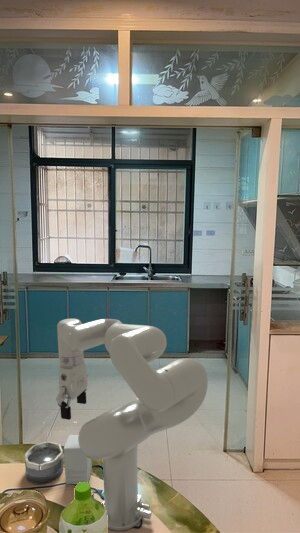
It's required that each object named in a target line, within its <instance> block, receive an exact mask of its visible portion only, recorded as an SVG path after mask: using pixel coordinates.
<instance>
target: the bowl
mask: <svg viewBox="0 0 300 533" xmlns="http://www.w3.org/2000/svg"><path fill="white" fill-rule="evenodd" d="M24 465H25V477H26V478H25V479H26V480H27V481H28V482H29V483H30V484H31V485H32V484H33V485H38V486H39V485H40V486H43V485H48V484H51V483H53V482H54V481H56V480H58V479H59V478H60V477H61V476H62V474H63V472H64V449H63V448H62V445H61V444H60V443H57V442H54V441H43V442H39V443H36V444H34V445H31V447H30V448H29V449H28V450H27V451H26V452H25V453H24Z"/></svg>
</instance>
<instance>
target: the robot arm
mask: <svg viewBox="0 0 300 533" xmlns="http://www.w3.org/2000/svg"><path fill="white" fill-rule="evenodd" d="M56 330H57V345H58V364H59V373H58V394H57V396H56V397H55V398H56V399H55V401H56V403H57V405H58V407H59V408H60V419H62V420H63V419H64V420H69V421H70V420H71V419H72V410H71V406H70V405H71V402H72V400H75V399H76V403H77V404H82V405H86V404H87V389H88V372H87V368H86V362H85V358H84V356H85V355H84V351H86V350H89V349H92V348H95V347H98V346H101V345H104V346H105V347H104V348H105V350H106V351H107V352H108V353H109V358H110V361H111V362H112V364H113V366H114V368H115V369H116V371H117V373H119V375H120V376H121V377H122V379H123V380H124V381H125V382H126V384H127V385H128V387H129V388H130V390H131V391H132V392H133V393H134V394H135V395H136V398H137V399H136V400H134V401H131V402H128V403H126V404H123V405H118V406H115V407H113V408H111V409H109V410H107V411H106V412H104V413H101V414H100V415H98V416H96V417H94V418H93V419H90V420H89V421H87V422H85V423H84V424H83V425H82V426H81V428H80V429H79V432H78V435H79V436H78V442H79V446H80V449H81V451H82V452H83V454H84V455H85V456H87V457H88V458H90V459H91V461H92V460H93V461H101V460H102V462H103V464H102V466H103V467H102V468H103V472H102V473H103V497H104V500H103V501H102V502H101V504H102V503H103V504H104V506H105V508H106V510H107V515H108V528H107V529H110V530H111V531H112V530H113V531H117V532H118V531H126V530H130V529H132V528H134V527H135V526H137V525H138V524H139V523H140V521H141V520H142V518H144V519H147V520H151V518H152V511H151V510H150V509H151V504H149V503H144V502H143V501H142V495H141V494H138V489H139V488H138V487H139V486H138V483H139V482H138V448H139V447H138V445H139V444H142V443H143V442H144V441H145V440H147V439H149V437H151V436H152V435H154V434H157V433H160V432H163V431H165V430H169V429H171V428H174V427H176V426H178V425H180V424H182V423H184V422H186V421H187V420H188V419H190V418H191V417H192V416H193V415H194V414H195V413H196V412H197V411H198V410H199V408H200V407H201V406H202V404H203V402H204V401H205V399H206V396H207V392H208V387H209V386H208V385H209V384H208V381H209V380H208V375H207V374H208V373H207V370H206V368H205V367H204V365H203V364H202V363H201V362H200V361H199V360H197V359H194V358H188V357H187V358H179V359H176V360H173V361H171V362H168V363H166V364H164V365H161V366H160V367H158V368H156V369H154V368H153V367H152V366H151V365H150V364H149V363H150V362H153V361H154V360H155V361H156V360H157V359H158V358H160V357H161V356H162V355H163V353H165V350H166V348H167V343H168V342H167V337H166V334H165V333H164V332H163V331H162V330H161V329H160V328H158V327H156V326H152V325H145V324H144V325H143V324H129V323H123V322H122V321H121V320H119V319H115V318H114V319H113V318H100V319H96V320H92V321H87V322H84V323H82V321H81V320H80V319H78V318H65V319H62V320H60V321H58V323H57V325H56ZM65 400H67V401H66V402H65Z"/></svg>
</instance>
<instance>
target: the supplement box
mask: <svg viewBox="0 0 300 533" xmlns="http://www.w3.org/2000/svg"><path fill="white" fill-rule="evenodd" d="M78 436H79V434H69V435H68V438H67V440H66V441H65V444H64V446H63V448H62V450H63V464H64V476H65V485H78V484H77V483H79V482H83V481H85V482H88V483H89V482H90V478H91V474H92V469H93V467H92V459H90V458H88V457H87V456H85V455H84V454H83V452H82V451H81V449H80V446H79V442H78Z"/></svg>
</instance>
